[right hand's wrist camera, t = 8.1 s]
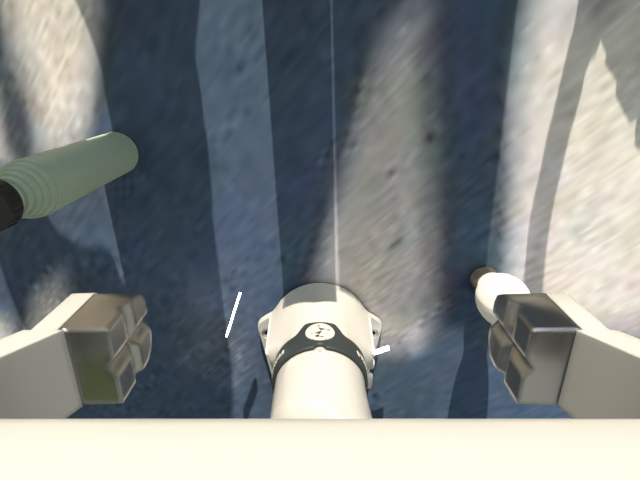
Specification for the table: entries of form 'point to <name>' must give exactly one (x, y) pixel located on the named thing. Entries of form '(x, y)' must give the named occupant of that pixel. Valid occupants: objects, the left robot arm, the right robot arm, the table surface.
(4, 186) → the cap
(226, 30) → the table surface
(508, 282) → the light bulb
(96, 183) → the bottle
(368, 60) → the table surface
